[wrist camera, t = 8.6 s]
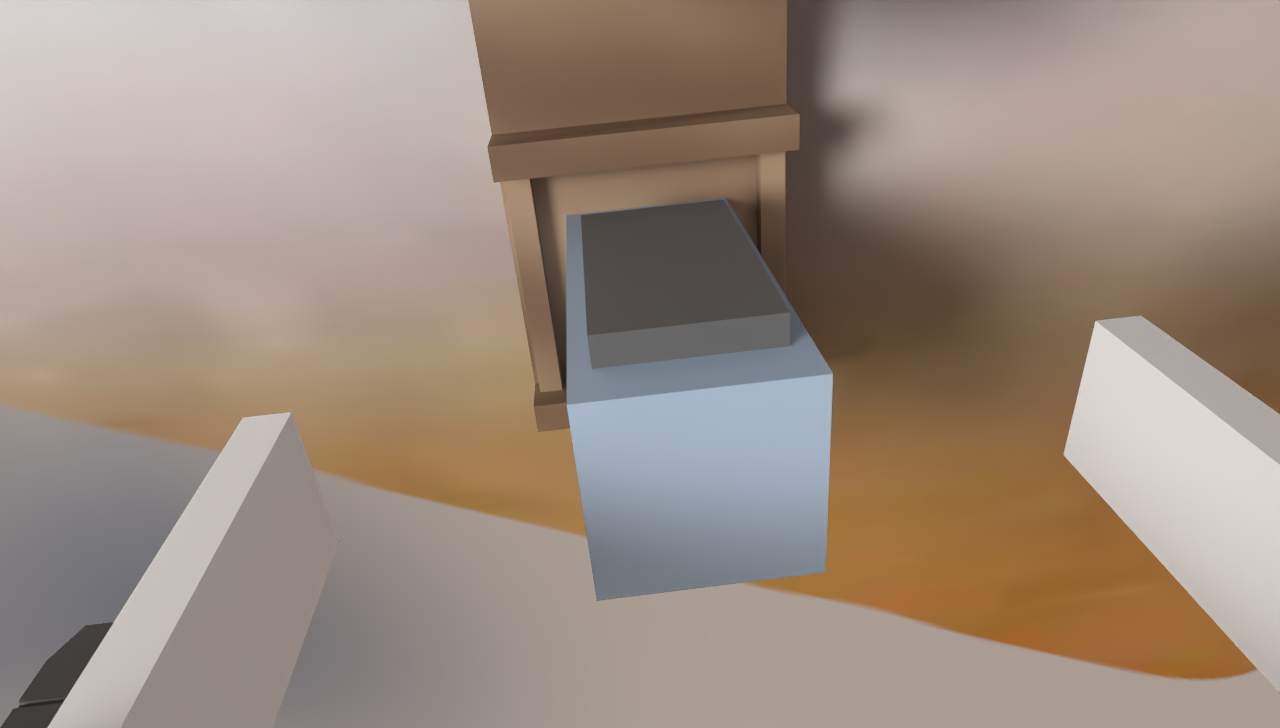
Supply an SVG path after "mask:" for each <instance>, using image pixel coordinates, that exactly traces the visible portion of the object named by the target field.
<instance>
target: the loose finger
mask: <svg viewBox="0 0 1280 728" xmlns="http://www.w3.org/2000/svg"><path fill="white" fill-rule="evenodd" d="M566 318H567V410H568V417H569V423H570V430H571V436H572V443H573V449H574V456H575V462H576V469H577V475H578V482H579V488H580V495H581V501H582V507H583V514H584V520H585V527H586V533H587V540H588V546H589V553H590V559H591V566H592V572H593V578H594V585H595V591H596V598H597V601H599V600H607V599H615V598H623V597H632V596H640V595H648V594H656V593H664V592H672V591H680V590H687V589H696V588H704V587H711V586H720V585H728V584H736V583H744V582H752V581H760V580H768V579H776V578H784V577H792V576H800V575H808V574H816V573H824V572H825V567H826V541H827V516H828V490H829V464H830V439H831V413H832V388H833V373H832V371H831V370H830V368H829V366H828V365H827V363H826V361H825V360H824V358H823V356H822V355H821V353H820V352H819V350H818V348H817V347H816V345H815V343H814V342H813V340H812V338H811V337H810V335H809V333H808V332H807V330H806V329H805V327H804V325H803V324H802V322H801V320H800V319H799V317H798V315H797V314H796V312H795V310H794V309H793V307H792V306H791V304H790V302H789V301H788V299H787V297H786V296H785V294H784V292H783V291H782V289H781V287H780V286H779V284H778V283H777V281H776V279H775V278H774V276H773V274H772V273H771V271H770V269H769V268H768V266H767V264H766V263H765V261H764V260H763V258H762V256H761V255H760V253H759V251H758V250H757V248H756V246H755V245H754V243H753V241H752V240H751V238H750V236H749V235H748V233H747V232H746V230H745V228H744V227H743V225H742V223H741V222H740V220H739V218H738V217H737V215H736V213H735V212H734V210H733V209H732V207H731V205H730V204H729V202H728V200H727V199H726V198H717V199H708V200H699V201H689V202H680V203H671V204H662V205H653V206H644V207H634V208H625V209H616V210H607V211H598V212H589V213H580V214H570V215H566Z"/></svg>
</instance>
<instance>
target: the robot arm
mask: <svg viewBox="0 0 1280 728" xmlns="http://www.w3.org/2000/svg"><path fill="white" fill-rule="evenodd" d="M1064 456H1065V457H1066V458H1067V459H1068V460H1069V462H1070V463H1071V464H1072V465H1073V466H1074V467H1075V468H1076V469H1077V470H1078V471H1079V473H1080V474H1081V475H1082V476H1083V477H1084V478H1085V479H1086V480H1087V481H1088V483H1089V484H1090V485H1091V486H1092V487H1093V488H1094V489H1095V490H1096V491H1097V492H1098V494H1099V495H1100V496H1101V497H1102V498H1103V499H1104V500H1105V501H1106V502H1107V503H1108V505H1109V506H1110V507H1111V508H1112V509H1113V510H1114V511H1115V512H1116V513H1117V514H1118V516H1119V517H1120V518H1121V519H1122V520H1123V521H1124V522H1125V523H1126V524H1127V526H1128V527H1129V528H1130V529H1131V530H1132V531H1133V532H1134V533H1135V534H1136V535H1137V537H1138V538H1139V539H1140V540H1141V541H1142V542H1143V543H1144V544H1145V545H1146V546H1147V548H1148V549H1149V550H1150V551H1151V552H1152V553H1153V554H1154V555H1155V556H1156V558H1157V559H1158V560H1159V561H1160V562H1161V563H1162V564H1163V565H1164V566H1165V567H1166V569H1167V570H1168V571H1169V572H1170V573H1171V574H1172V575H1173V576H1174V577H1175V578H1176V580H1177V581H1178V582H1179V583H1180V584H1181V585H1182V586H1183V587H1184V588H1185V589H1186V591H1187V592H1188V593H1189V594H1190V595H1191V596H1192V597H1193V598H1194V599H1195V601H1196V602H1197V603H1198V604H1199V605H1200V606H1201V607H1202V608H1203V609H1204V610H1205V612H1206V613H1207V614H1208V615H1209V616H1210V617H1211V618H1212V619H1213V620H1214V621H1215V623H1216V624H1217V625H1218V626H1219V627H1220V628H1221V629H1222V630H1223V631H1224V633H1225V634H1226V635H1227V636H1228V637H1229V638H1230V639H1231V640H1232V641H1233V642H1234V644H1235V645H1236V646H1237V647H1238V648H1239V649H1240V650H1241V651H1242V652H1243V653H1244V655H1245V656H1246V657H1247V658H1248V659H1249V660H1250V661H1251V662H1252V663H1253V664H1254V666H1255V667H1256V668H1257V669H1258V670H1259V671H1260V672H1261V673H1262V674H1263V676H1264V677H1265V678H1266V679H1267V680H1268V681H1269V682H1270V683H1271V684H1272V685H1273V686H1274V688H1275V689H1276V690H1277V691H1278V692H1279V693H1280V414H1279V413H1277V412H1276V411H1274V410H1273V409H1272V408H1270V407H1269V406H1267V405H1266V404H1265V403H1263V402H1262V401H1260V400H1259V399H1258V398H1256V397H1255V396H1253V395H1252V394H1251V393H1249V392H1248V391H1246V390H1245V389H1244V388H1242V387H1241V386H1239V385H1238V384H1236V383H1235V382H1234V381H1232V380H1231V379H1229V378H1228V377H1227V376H1225V375H1224V374H1222V373H1221V372H1220V371H1218V370H1217V369H1215V368H1214V367H1213V366H1211V365H1210V364H1208V363H1207V362H1206V361H1204V360H1203V359H1201V358H1200V357H1199V356H1197V355H1196V354H1194V353H1193V352H1192V351H1190V350H1189V349H1187V348H1186V347H1184V346H1183V345H1182V344H1180V343H1179V342H1177V341H1176V340H1175V339H1173V338H1172V337H1170V336H1169V335H1168V334H1166V333H1165V332H1163V331H1162V330H1161V329H1159V328H1158V327H1156V326H1155V325H1154V324H1152V323H1151V322H1149V321H1148V320H1147V319H1145V318H1144V317H1142V316H1133V317H1124V318H1116V319H1107V320H1098V321H1095V325H1094V329H1093V334H1092V338H1091V342H1090V346H1089V350H1088V354H1087V359H1086V363H1085V367H1084V371H1083V375H1082V380H1081V384H1080V388H1079V392H1078V396H1077V400H1076V405H1075V409H1074V413H1073V417H1072V421H1071V426H1070V430H1069V434H1068V438H1067V442H1066V446H1065V451H1064ZM338 543H339V539H338V536H337V533H336V531H335V528H334V525H333V522H332V520H331V517H330V514H329V512H328V509H327V506H326V504H325V501H324V498H323V496H322V493H321V490H320V488H319V485H318V482H317V479H316V477H315V474H314V471H313V469H312V466H311V463H310V461H309V458H308V455H307V453H306V450H305V447H304V445H303V442H302V439H301V437H300V434H299V431H298V429H297V426H296V423H295V420H294V418H293V415H292V412H289V413H280V414H271V415H263V416H254V417H245V418H243V419H242V420H241V422H240V423H239V425H238V426H237V428H236V430H235V431H234V433H233V434H232V436H231V438H230V439H229V441H228V442H227V444H226V445H225V447H224V449H223V450H222V452H221V453H220V455H219V457H218V458H217V460H216V461H215V463H214V464H213V466H212V468H211V469H210V471H209V473H208V474H207V476H206V477H205V479H204V481H203V482H202V484H201V485H200V487H199V488H198V490H197V492H196V493H195V495H194V496H193V498H192V499H191V501H190V503H189V504H188V506H187V507H186V509H185V510H184V512H183V514H182V515H181V517H180V518H179V520H178V522H177V523H176V525H175V526H174V528H173V529H172V531H171V533H170V534H169V536H168V538H167V539H166V541H165V542H164V544H163V545H162V547H161V548H160V550H159V552H158V553H157V555H156V556H155V558H154V560H153V561H152V563H151V565H150V566H149V567H148V569H147V571H146V572H145V574H144V575H143V577H142V579H141V580H140V582H139V583H138V585H137V587H136V588H135V590H134V591H133V593H132V594H131V596H130V598H129V599H128V601H127V602H126V604H125V606H124V607H123V609H122V610H121V612H120V613H119V615H118V617H117V618H116V620H115V621H114V622H112V623H103V624H95V625H87V626H85V627H84V628H83V629H82V630H80V631H79V632H78V633H77V634H76V635H75V636H74V637H73V638H71V639H70V640H69V641H68V642H67V643H66V644H65V645H64V646H63V647H62V648H60V649H59V650H58V651H57V652H56V653H55V654H54V655H53V656H51V657H50V658H49V659H48V660H47V661H46V662H45V664H44V665H43V667H42V668H41V669H40V671H39V673H38V674H37V675H36V677H35V678H34V680H33V681H32V683H31V684H30V685H29V687H28V688H27V690H26V691H25V693H24V694H23V696H22V697H21V699H20V700H19V702H20V704H19V707H18V708H16V709H13V710H12V712H11V713H10V715H9V716H8V718H7V719H6V720H5V722H4V723H3V725H2V726H1V728H273V725H274V722H275V720H276V717H277V714H278V711H279V708H280V706H281V703H282V700H283V697H284V694H285V692H286V689H287V686H288V683H289V680H290V678H291V675H292V672H293V669H294V666H295V663H296V660H297V658H298V655H299V652H300V649H301V647H302V644H303V641H304V638H305V636H306V632H307V630H308V627H309V624H310V622H311V618H312V616H313V613H314V610H315V608H316V605H317V602H318V599H319V596H320V593H321V591H322V588H323V585H324V582H325V580H326V577H327V574H328V571H329V568H330V566H331V563H332V560H333V557H334V554H335V551H336V549H337V546H338Z"/></svg>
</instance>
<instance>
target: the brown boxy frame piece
mask: <svg viewBox="0 0 1280 728" xmlns="http://www.w3.org/2000/svg"><path fill="white" fill-rule="evenodd" d="M469 6H470V12H471V17H472V23H473V29H474V34H475V40H476V46H477V52H478V57H479V63H480V69H481V75H482V80H483V86H484V92H485V98H486V103H487V109H488V115H489V120H490V126H491V132H492V136H491V139H490V142H489V144H488V152H489V158H490V164H491V169H492V175H493V180H494V183H495V182H500V184H501V189H502V195H503V201H504V207H505V212H506V218H507V224H508V229H509V235H510V241H511V247H512V252H513V258H514V264H515V270H516V275H517V281H518V287H519V293H520V298H521V304H522V310H523V316H524V321H525V327H526V333H527V338H528V344H529V350H530V356H531V361H532V367H533V373H534V379H535V397H534V410H535V416H536V421H537V427H538V432H541V431H550V430H558V429H567V428H570V423H569V417H568V410H567V318H566V215H570V214H580V213H589V212H598V211H607V210H616V209H625V208H634V207H644V206H653V205H662V204H671V203H680V202H689V201H699V200H708V199H717V198H726V199H727V200H728V202H729V204H730V205H731V207H732V209H733V210H734V212H735V213H736V215H737V217H738V218H739V220H740V222H741V223H742V225H743V227H744V228H745V230H746V232H747V233H748V235H749V236H750V238H751V240H752V241H753V243H754V245H755V246H756V248H757V250H758V251H759V253H760V255H761V256H762V258H763V260H764V261H765V263H766V264H767V266H768V268H769V269H770V271H771V273H772V274H773V276H774V278H775V279H776V281H777V283H778V284H779V286H780V287H781V289H782V291H783V292H784V294H785V296H786V151H793V150H799V136H800V114H799V113H798V112H797V111H795V110H794V109H793V108H791V107H790V106H789V105H787V0H469Z"/></svg>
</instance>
